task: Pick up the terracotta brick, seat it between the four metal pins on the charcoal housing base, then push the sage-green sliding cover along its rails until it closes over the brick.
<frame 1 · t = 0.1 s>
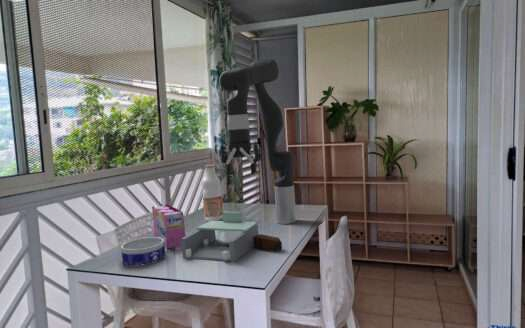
hand: (242, 174, 130), 29 cm above the table, tool pointing down, fingers open, 8 cm apart
gum box: (169, 240, 158), on the table
brick: (267, 249, 138), on the table
housing: (215, 254, 136), on the table
cover: (226, 220, 145), point 10 cm above the table, slide at 0.0 cm
dog bowl: (144, 259, 137), on the table
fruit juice: (214, 219, 189), on the table
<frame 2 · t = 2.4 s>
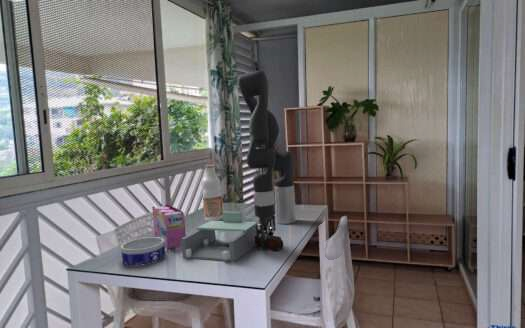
hand: (267, 246, 138), 1 cm above the table, tool pointing down, fingers open, 6 cm apart
brick: (269, 248, 138), on the table, touching gripper
everything else where it was.
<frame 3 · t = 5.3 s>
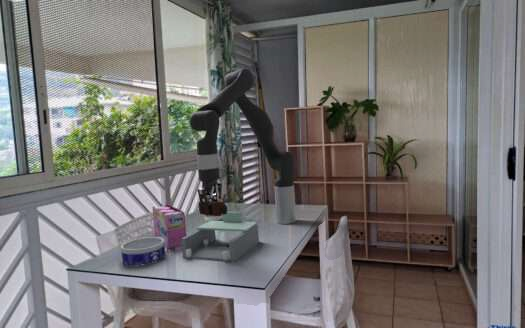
hand: (212, 213, 134), 15 cm above the table, tool pointing down, fingers closed on brick, 4 cm apart
brick: (213, 215, 134), point 15 cm above the table, touching gripper
everything else where it was.
when the fingers open (3 cm above the table, at t = 8.0 s): brick drops 2 cm, resting on housing.
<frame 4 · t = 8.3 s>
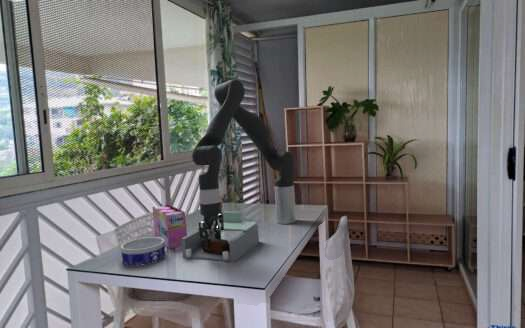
hand: (213, 245, 135), 3 cm above the table, tool pointing down, fingers open, 7 cm apart
brick: (216, 252, 136), point 1 cm above the table, touching housing
cover: (227, 220, 145), point 10 cm above the table, slide at -0.1 cm, touching gripper
everything else where it was.
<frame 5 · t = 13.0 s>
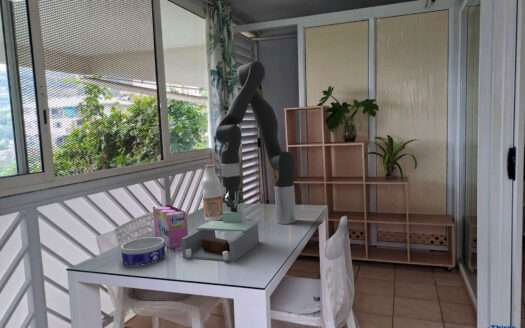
hand: (234, 216, 151), 10 cm above the table, tool pointing down, fingers closed
nothing on the table moved.
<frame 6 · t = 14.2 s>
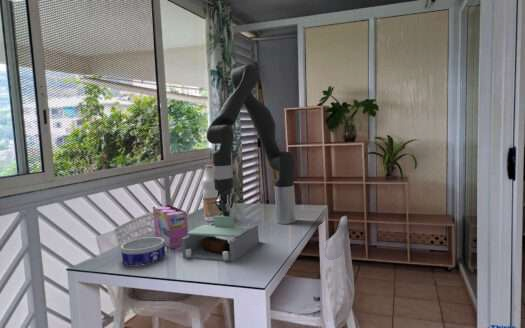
hand: (226, 220, 145), 10 cm above the table, tool pointing down, fingers closed
cover: (218, 225, 138), point 10 cm above the table, slide at 7.0 cm, touching gripper
everything else where it was.
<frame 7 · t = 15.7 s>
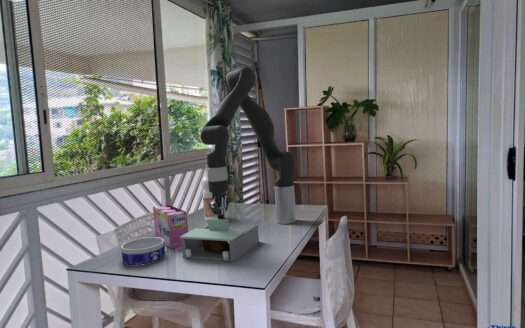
hand: (221, 223, 141), 10 cm above the table, tool pointing down, fingers closed
cover: (212, 228, 134), point 10 cm above the table, slide at 11.5 cm, touching gripper
everything else where it was.
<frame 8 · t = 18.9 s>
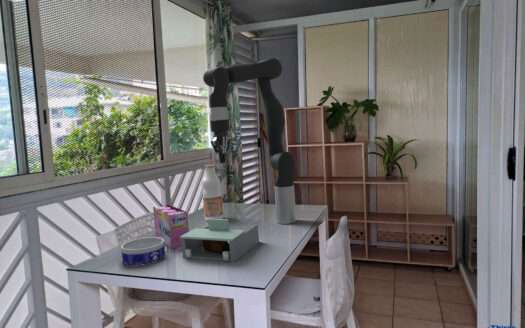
hand: (222, 163, 147), 32 cm above the table, tool pointing down, fingers closed
cover: (212, 228, 134), point 10 cm above the table, slide at 11.5 cm
at the end: brick 0.8 cm off-centre on the housing, point 0.6 cm above the housing's base; brick tilted 1°; cover slide at 11.5 cm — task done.
